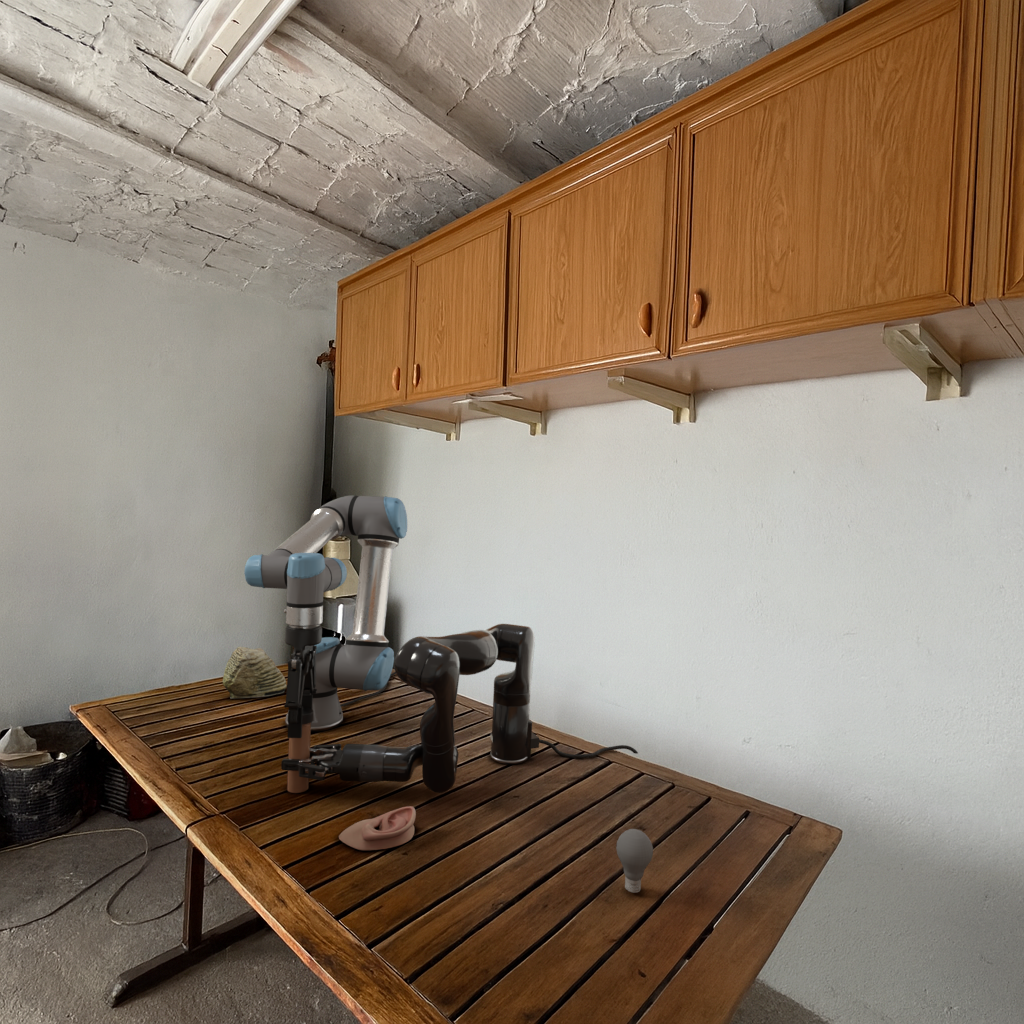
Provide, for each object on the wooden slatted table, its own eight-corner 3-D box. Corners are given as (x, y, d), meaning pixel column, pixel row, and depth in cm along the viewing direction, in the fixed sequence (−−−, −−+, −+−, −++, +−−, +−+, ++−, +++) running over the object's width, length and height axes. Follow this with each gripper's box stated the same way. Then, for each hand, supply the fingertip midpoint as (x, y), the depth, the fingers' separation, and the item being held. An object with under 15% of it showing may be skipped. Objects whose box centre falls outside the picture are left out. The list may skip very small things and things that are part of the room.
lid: (288, 717, 139) (288, 708, 139) (313, 715, 140) (313, 706, 140) (286, 725, 134) (287, 716, 134) (312, 724, 135) (313, 714, 135)
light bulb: (610, 879, 108) (613, 822, 108) (644, 879, 109) (647, 822, 109) (619, 902, 102) (622, 840, 102) (655, 901, 103) (658, 840, 103)
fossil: (218, 695, 195) (220, 647, 195) (278, 685, 208) (279, 640, 207) (228, 703, 189) (230, 653, 188) (289, 692, 201) (290, 645, 201)
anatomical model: (331, 824, 115) (359, 795, 126) (330, 845, 115) (358, 815, 126) (400, 835, 112) (422, 805, 124) (399, 857, 112) (421, 825, 124)
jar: (288, 794, 134) (291, 719, 134) (285, 785, 138) (288, 713, 138) (310, 790, 136) (313, 717, 136) (306, 782, 140) (309, 710, 140)
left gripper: (299, 615, 146) (296, 714, 147) (270, 634, 126) (266, 748, 127) (332, 616, 147) (328, 714, 147) (309, 635, 127) (304, 749, 127)
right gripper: (372, 733, 144) (297, 730, 144) (357, 759, 130) (274, 755, 130) (371, 766, 144) (296, 762, 144) (356, 795, 130) (273, 791, 130)
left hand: (300, 730), depth 137 cm, fingers open, 7 cm apart
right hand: (286, 759), depth 137 cm, fingers closed on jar, 4 cm apart
